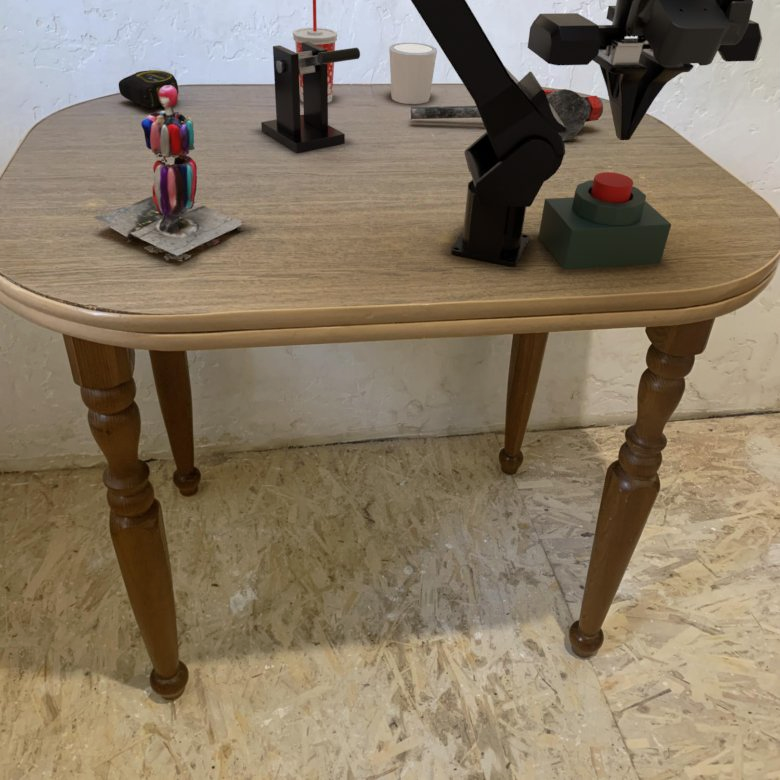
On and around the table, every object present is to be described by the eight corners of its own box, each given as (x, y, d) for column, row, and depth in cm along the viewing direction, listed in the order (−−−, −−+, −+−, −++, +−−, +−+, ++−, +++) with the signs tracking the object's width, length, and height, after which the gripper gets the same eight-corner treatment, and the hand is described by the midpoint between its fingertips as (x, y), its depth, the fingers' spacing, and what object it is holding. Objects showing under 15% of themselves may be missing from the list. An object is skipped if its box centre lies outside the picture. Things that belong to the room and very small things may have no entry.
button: (600, 205, 72) (604, 187, 70) (584, 190, 74) (588, 172, 73) (635, 203, 72) (640, 186, 71) (619, 188, 75) (623, 171, 74)
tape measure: (119, 103, 107) (114, 75, 105) (161, 93, 111) (157, 66, 109) (146, 115, 103) (142, 86, 101) (189, 104, 107) (186, 76, 105)
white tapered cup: (441, 97, 115) (445, 47, 110) (418, 108, 110) (421, 56, 106) (402, 88, 117) (404, 39, 113) (378, 99, 113) (379, 48, 108)
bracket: (344, 143, 98) (345, 53, 91) (296, 153, 94) (293, 60, 88) (308, 122, 103) (305, 36, 97) (261, 131, 100) (256, 42, 93)
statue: (244, 240, 78) (250, 92, 68) (177, 275, 72) (173, 116, 62) (165, 200, 82) (159, 54, 72) (94, 230, 75) (78, 74, 66)
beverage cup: (343, 104, 110) (343, -4, 102) (301, 107, 108) (298, -3, 100) (329, 91, 115) (328, -13, 106) (289, 94, 113) (285, -12, 104)
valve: (583, 121, 114) (610, 141, 101) (408, 123, 114) (412, 144, 101) (588, 74, 111) (616, 89, 98) (408, 77, 111) (412, 92, 97)
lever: (361, 64, 88) (358, 41, 87) (324, 69, 85) (320, 46, 84) (314, 72, 96) (310, 51, 95) (279, 77, 94) (275, 56, 93)
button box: (564, 270, 73) (575, 211, 69) (538, 237, 78) (547, 181, 75) (660, 264, 75) (676, 206, 71) (628, 232, 80) (642, 176, 77)
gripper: (596, -42, 53) (558, 178, 62) (836, -41, 56) (765, 167, 65) (539, -65, 61) (514, 131, 71) (749, -63, 65) (698, 124, 74)
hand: (622, 138), depth 70 cm, fingers closed
